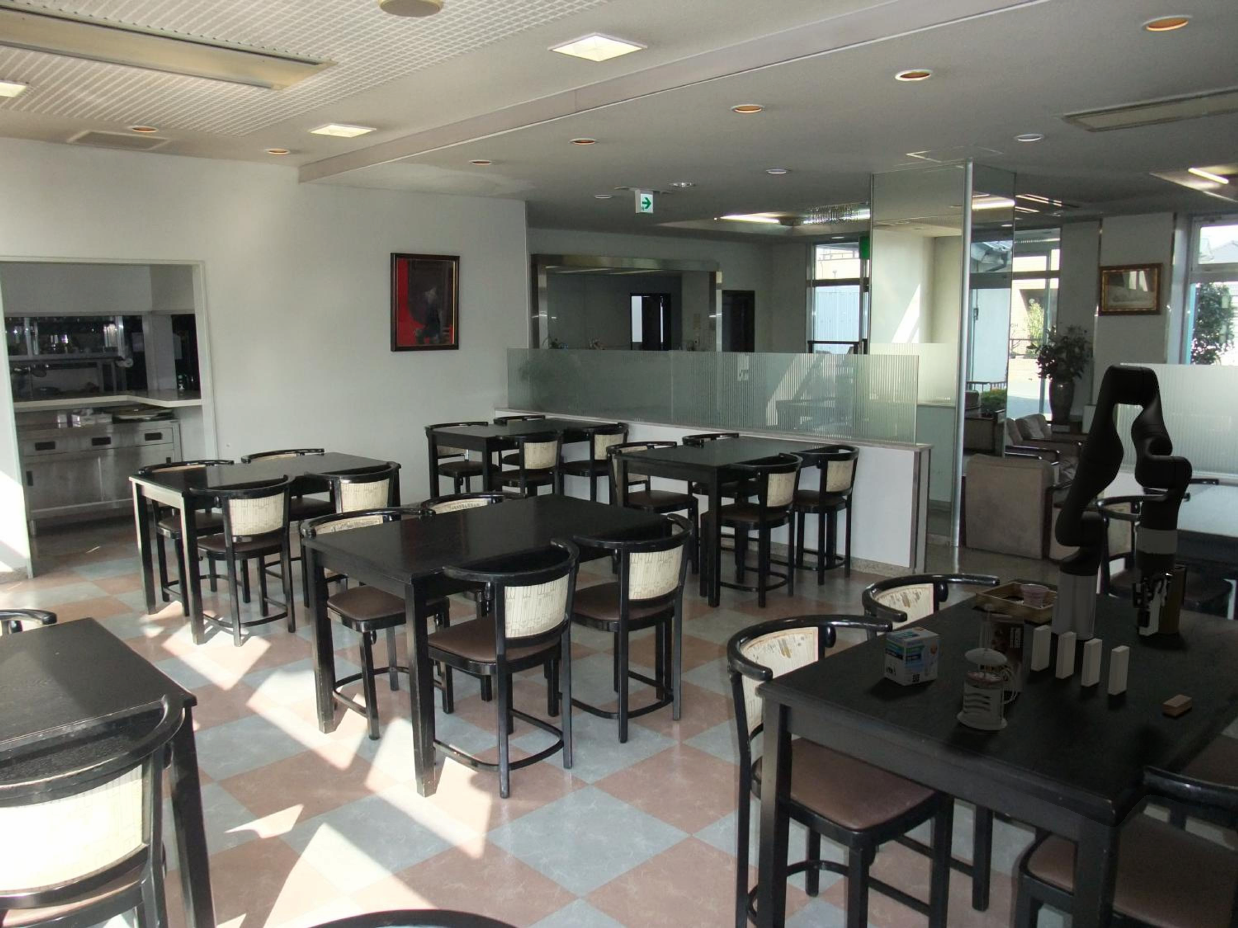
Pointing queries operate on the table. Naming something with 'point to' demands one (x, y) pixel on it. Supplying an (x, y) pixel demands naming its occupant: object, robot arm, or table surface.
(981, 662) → the french press
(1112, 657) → the domino
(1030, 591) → the teacup
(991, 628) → the coffee box
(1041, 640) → the domino
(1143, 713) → the table surface
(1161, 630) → the canister
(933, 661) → the light bulb box
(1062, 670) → the domino
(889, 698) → the table surface
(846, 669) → the table surface
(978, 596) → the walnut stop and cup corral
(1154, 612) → the sage domino
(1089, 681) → the domino
